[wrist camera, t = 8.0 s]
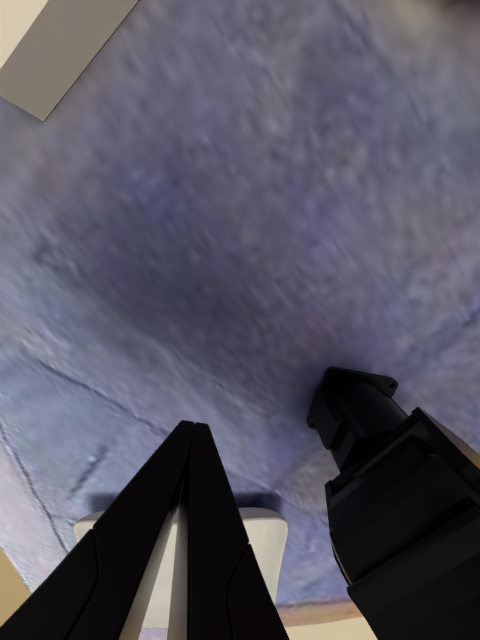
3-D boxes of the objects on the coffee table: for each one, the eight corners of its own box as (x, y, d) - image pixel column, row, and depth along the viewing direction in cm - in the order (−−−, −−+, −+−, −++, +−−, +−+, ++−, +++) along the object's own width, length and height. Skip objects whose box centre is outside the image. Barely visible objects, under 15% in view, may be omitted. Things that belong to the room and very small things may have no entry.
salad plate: (269, 591, 34) (273, 629, 30) (116, 593, 33) (104, 633, 30) (284, 486, 26) (291, 521, 23) (88, 487, 26) (67, 523, 22)
